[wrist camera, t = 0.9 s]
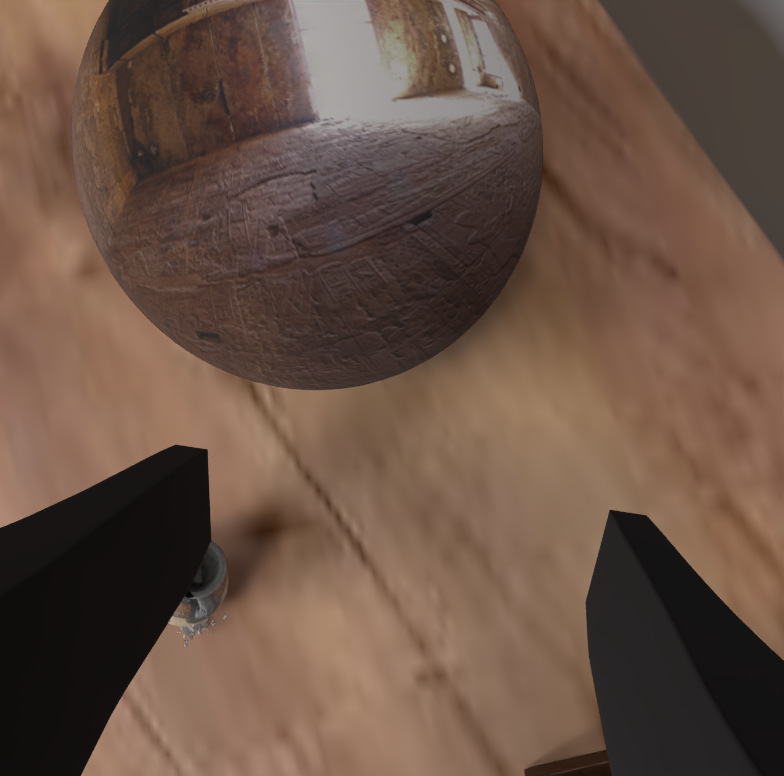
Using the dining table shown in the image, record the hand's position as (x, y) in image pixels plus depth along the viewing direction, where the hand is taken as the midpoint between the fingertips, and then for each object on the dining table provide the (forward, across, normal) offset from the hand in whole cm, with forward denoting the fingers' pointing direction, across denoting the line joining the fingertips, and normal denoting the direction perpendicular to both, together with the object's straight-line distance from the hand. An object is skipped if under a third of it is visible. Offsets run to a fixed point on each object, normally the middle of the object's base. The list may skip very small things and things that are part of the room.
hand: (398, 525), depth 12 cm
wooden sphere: (+21, +5, -1) cm, 21 cm away
